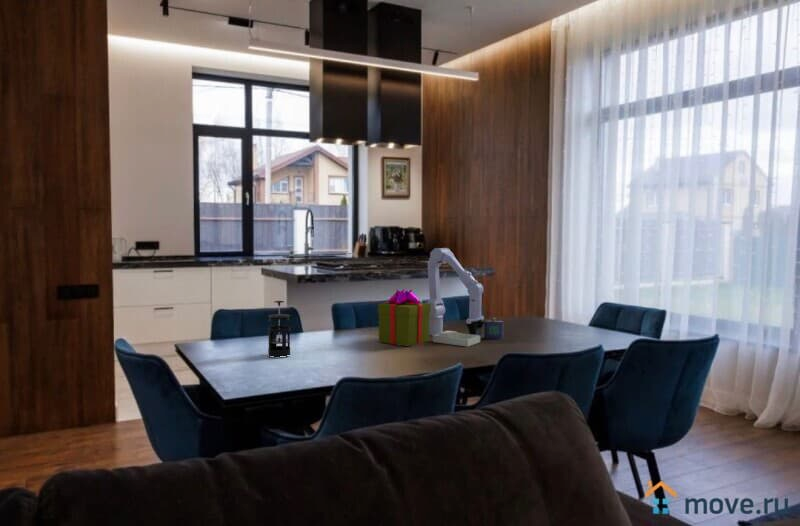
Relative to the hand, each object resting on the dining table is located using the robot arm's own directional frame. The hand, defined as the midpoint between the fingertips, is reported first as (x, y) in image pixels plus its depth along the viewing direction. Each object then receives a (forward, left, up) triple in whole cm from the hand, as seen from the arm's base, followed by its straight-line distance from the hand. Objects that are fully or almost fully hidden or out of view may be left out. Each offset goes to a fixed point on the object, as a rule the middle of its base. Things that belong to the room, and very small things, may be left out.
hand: (474, 336), depth 277 cm
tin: (0, 0, -2) cm, 2 cm away
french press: (-51, -79, -2) cm, 94 cm away
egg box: (-9, -11, -1) cm, 14 cm away
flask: (+6, +8, -2) cm, 10 cm away
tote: (-4, -11, -2) cm, 12 cm away
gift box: (-25, -24, -2) cm, 35 cm away
